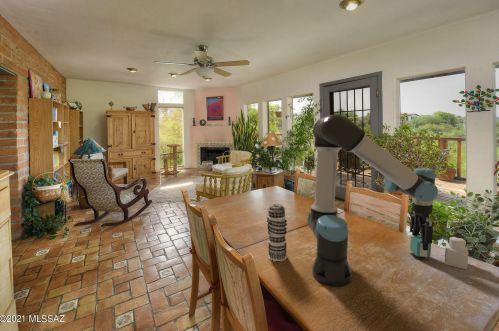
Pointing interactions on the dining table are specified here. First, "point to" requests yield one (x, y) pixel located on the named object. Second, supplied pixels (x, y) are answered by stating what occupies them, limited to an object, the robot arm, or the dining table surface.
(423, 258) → the dark grey upright block
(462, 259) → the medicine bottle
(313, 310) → the dining table surface
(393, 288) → the dining table surface
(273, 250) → the model tower building
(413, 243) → the teal cube
